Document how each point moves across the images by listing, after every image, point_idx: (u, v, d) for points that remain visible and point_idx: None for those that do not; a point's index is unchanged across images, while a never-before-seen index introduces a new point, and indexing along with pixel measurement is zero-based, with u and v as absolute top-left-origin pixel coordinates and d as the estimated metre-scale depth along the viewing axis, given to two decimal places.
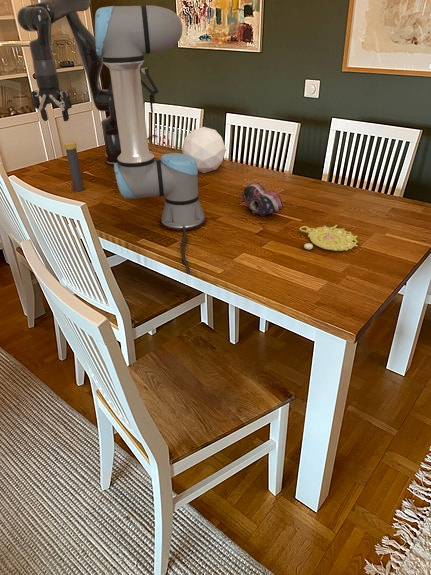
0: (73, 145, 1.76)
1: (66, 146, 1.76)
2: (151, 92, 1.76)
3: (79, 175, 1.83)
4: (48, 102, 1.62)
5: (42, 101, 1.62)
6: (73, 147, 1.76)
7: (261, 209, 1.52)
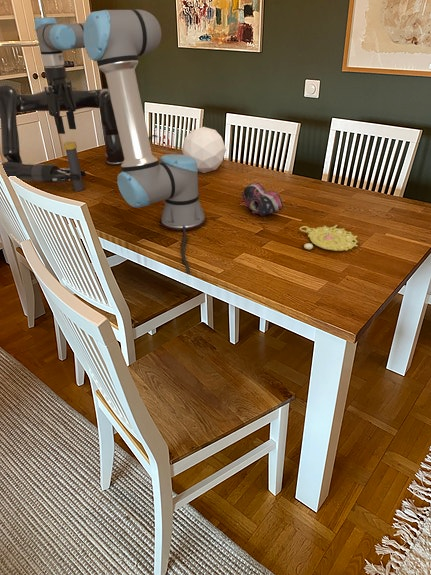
0: (73, 145, 1.76)
1: (66, 146, 1.76)
2: None
3: None
4: None
5: None
6: (73, 147, 1.76)
7: (261, 209, 1.52)
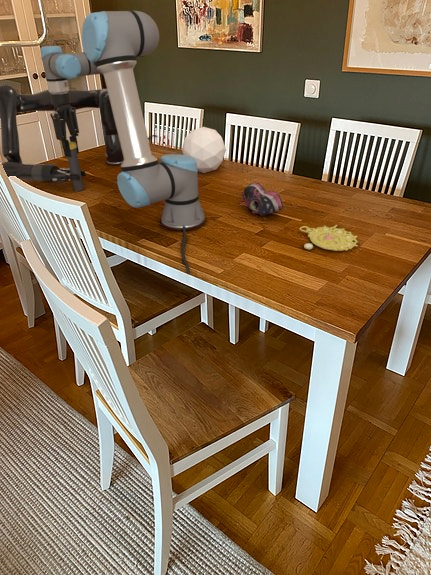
0: (73, 145, 1.76)
1: None
2: None
3: None
4: None
5: None
6: (73, 147, 1.76)
7: (261, 209, 1.52)
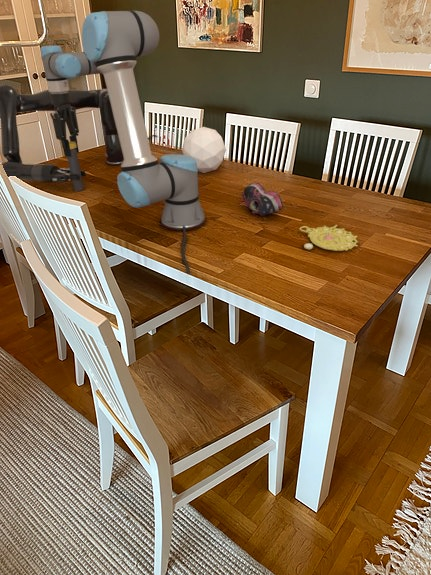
0: None
1: (74, 145, 1.77)
2: None
3: None
4: None
5: None
6: None
7: (261, 209, 1.52)
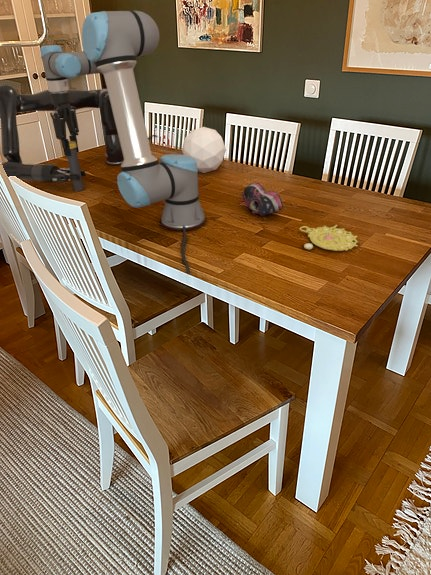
0: None
1: None
2: None
3: None
4: None
5: None
6: None
7: (261, 209, 1.52)
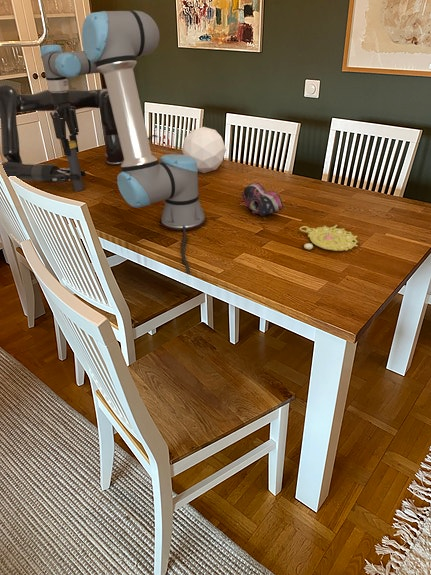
0: None
1: None
2: None
3: None
4: None
5: None
6: None
7: (261, 209, 1.52)
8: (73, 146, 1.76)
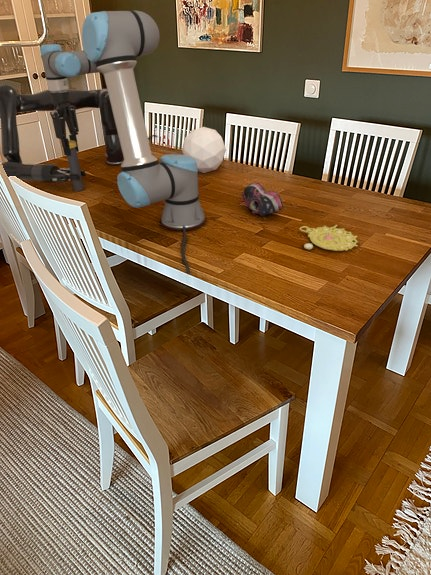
0: (72, 144, 1.76)
1: None
2: None
3: None
4: None
5: None
6: (72, 146, 1.76)
7: (261, 209, 1.52)
8: None
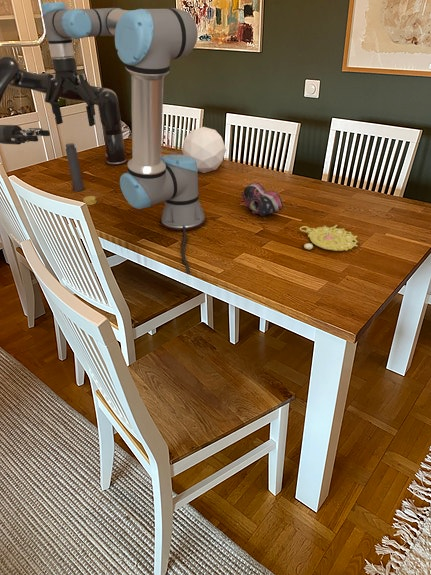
0: None
1: None
2: (87, 103, 1.51)
3: (79, 175, 1.83)
4: None
5: None
6: None
7: (261, 209, 1.52)
8: None
